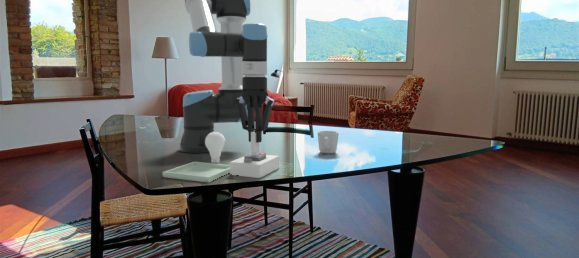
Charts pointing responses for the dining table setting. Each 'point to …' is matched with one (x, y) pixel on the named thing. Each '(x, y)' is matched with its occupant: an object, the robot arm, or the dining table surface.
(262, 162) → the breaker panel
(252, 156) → the button
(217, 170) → the tray
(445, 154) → the dining table surface
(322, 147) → the cup
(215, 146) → the light bulb
